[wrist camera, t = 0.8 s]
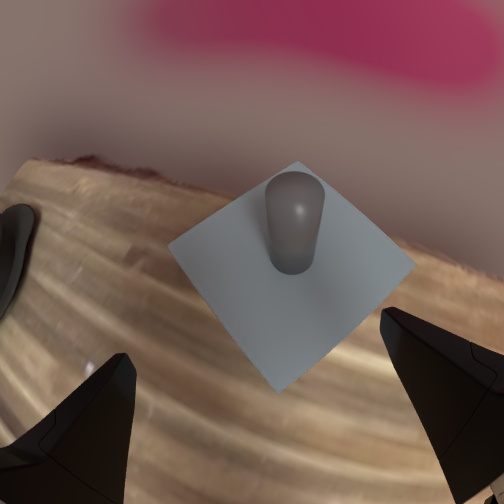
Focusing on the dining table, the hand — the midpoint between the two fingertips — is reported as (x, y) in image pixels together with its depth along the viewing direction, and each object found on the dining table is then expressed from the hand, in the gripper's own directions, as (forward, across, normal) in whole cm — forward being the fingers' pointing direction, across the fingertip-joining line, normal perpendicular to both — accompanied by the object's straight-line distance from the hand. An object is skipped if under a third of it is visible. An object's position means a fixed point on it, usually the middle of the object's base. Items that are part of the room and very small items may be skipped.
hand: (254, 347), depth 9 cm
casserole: (+21, +38, +3) cm, 43 cm away
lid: (+13, -3, +4) cm, 13 cm away
